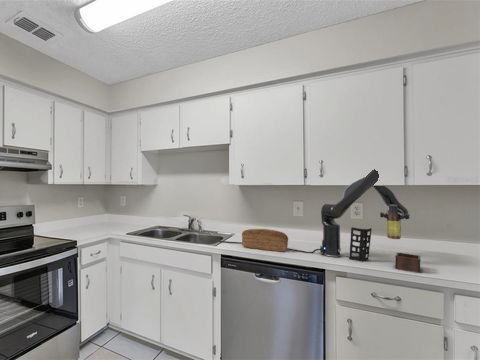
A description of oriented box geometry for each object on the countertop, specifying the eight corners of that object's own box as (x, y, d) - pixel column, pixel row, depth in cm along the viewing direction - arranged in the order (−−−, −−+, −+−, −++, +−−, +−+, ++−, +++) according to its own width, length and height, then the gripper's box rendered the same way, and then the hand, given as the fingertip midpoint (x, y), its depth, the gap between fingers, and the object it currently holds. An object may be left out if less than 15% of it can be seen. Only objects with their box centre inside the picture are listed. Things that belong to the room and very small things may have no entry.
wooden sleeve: (395, 268, 144) (395, 255, 144) (396, 264, 152) (396, 252, 152) (420, 273, 137) (420, 259, 138) (420, 268, 145) (420, 255, 145)
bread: (243, 244, 200) (243, 226, 200) (288, 249, 185) (288, 230, 185) (240, 247, 189) (240, 228, 190) (287, 253, 175) (287, 232, 175)
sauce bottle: (403, 239, 153) (403, 205, 152) (391, 239, 154) (391, 205, 154) (395, 237, 159) (396, 204, 159) (383, 236, 160) (384, 204, 160)
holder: (363, 257, 165) (365, 226, 163) (373, 262, 158) (376, 229, 156) (346, 257, 165) (348, 226, 163) (355, 262, 157) (357, 229, 155)
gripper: (380, 207, 172) (377, 209, 160) (411, 209, 161) (410, 211, 150) (380, 219, 172) (377, 221, 160) (411, 221, 161) (410, 224, 150)
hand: (393, 216), depth 155 cm, fingers closed on sauce bottle, 6 cm apart
